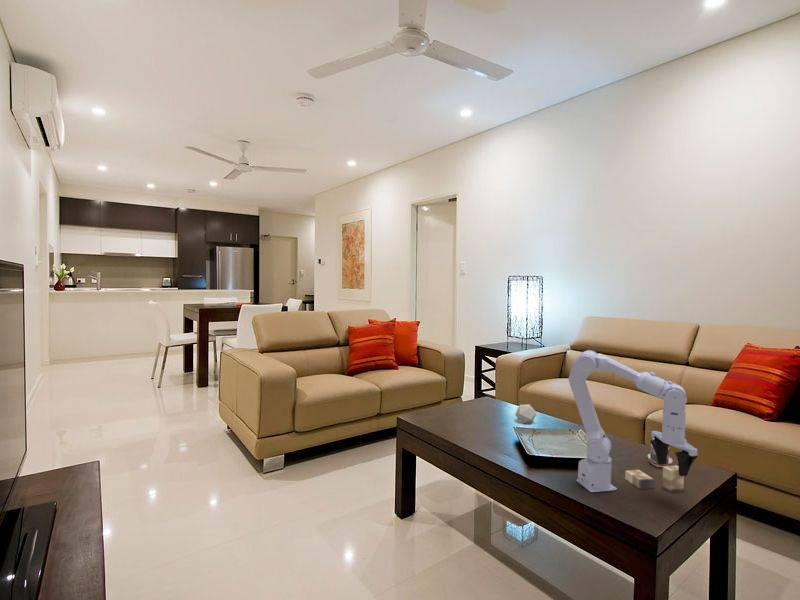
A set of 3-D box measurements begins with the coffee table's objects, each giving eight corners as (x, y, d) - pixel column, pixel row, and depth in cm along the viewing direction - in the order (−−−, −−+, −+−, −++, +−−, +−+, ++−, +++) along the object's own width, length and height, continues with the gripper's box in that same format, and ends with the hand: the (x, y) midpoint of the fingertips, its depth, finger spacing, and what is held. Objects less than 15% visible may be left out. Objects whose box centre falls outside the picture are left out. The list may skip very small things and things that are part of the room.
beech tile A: (640, 480, 133) (625, 470, 140) (640, 489, 133) (625, 479, 140) (654, 479, 134) (638, 469, 141) (654, 488, 134) (638, 478, 141)
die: (535, 428, 189) (542, 408, 193) (518, 418, 189) (525, 398, 193) (526, 428, 197) (532, 409, 201) (509, 419, 197) (517, 400, 201)
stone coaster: (659, 464, 151) (659, 463, 151) (642, 455, 159) (642, 454, 158) (677, 463, 152) (678, 461, 152) (660, 454, 160) (660, 452, 160)
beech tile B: (669, 492, 131) (670, 470, 131) (662, 487, 134) (663, 466, 134) (683, 490, 132) (684, 469, 132) (675, 486, 135) (676, 465, 135)
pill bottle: (659, 469, 147) (660, 443, 146) (646, 461, 153) (647, 436, 151) (672, 466, 149) (673, 440, 147) (658, 458, 154) (659, 433, 153)
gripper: (707, 433, 117) (705, 479, 118) (665, 416, 131) (663, 458, 132) (686, 434, 116) (684, 482, 116) (646, 417, 130) (644, 460, 130)
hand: (672, 469), depth 124 cm, fingers open, 7 cm apart
